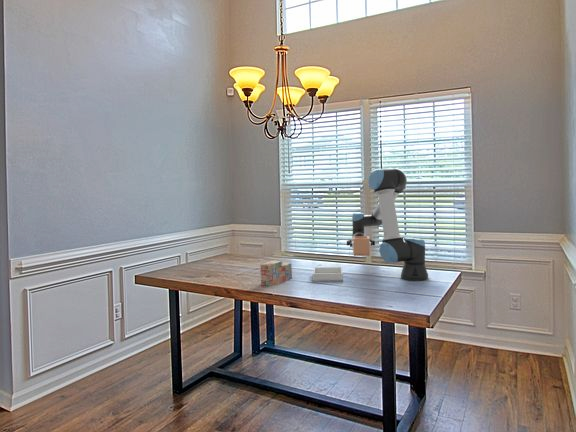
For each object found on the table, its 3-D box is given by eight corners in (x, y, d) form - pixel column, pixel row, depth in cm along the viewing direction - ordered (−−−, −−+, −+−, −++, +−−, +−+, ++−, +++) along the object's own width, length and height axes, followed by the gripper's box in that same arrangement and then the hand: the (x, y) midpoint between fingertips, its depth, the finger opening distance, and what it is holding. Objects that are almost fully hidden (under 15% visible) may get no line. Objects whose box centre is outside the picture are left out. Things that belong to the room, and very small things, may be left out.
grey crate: (342, 274, 253) (342, 267, 253) (342, 281, 237) (342, 273, 236) (314, 274, 255) (314, 267, 255) (312, 281, 238) (312, 273, 238)
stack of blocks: (283, 277, 251) (283, 257, 250) (292, 278, 248) (291, 258, 246) (260, 285, 234) (260, 263, 233) (269, 286, 231) (268, 265, 229)
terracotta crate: (368, 252, 246) (368, 236, 245) (369, 255, 237) (369, 238, 236) (353, 252, 247) (352, 236, 246) (353, 255, 239) (353, 238, 238)
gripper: (377, 245, 259) (380, 251, 236) (341, 245, 261) (342, 252, 239) (376, 233, 258) (380, 238, 236) (341, 233, 260) (342, 239, 238)
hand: (361, 245), depth 237 cm, fingers closed on terracotta crate, 9 cm apart
